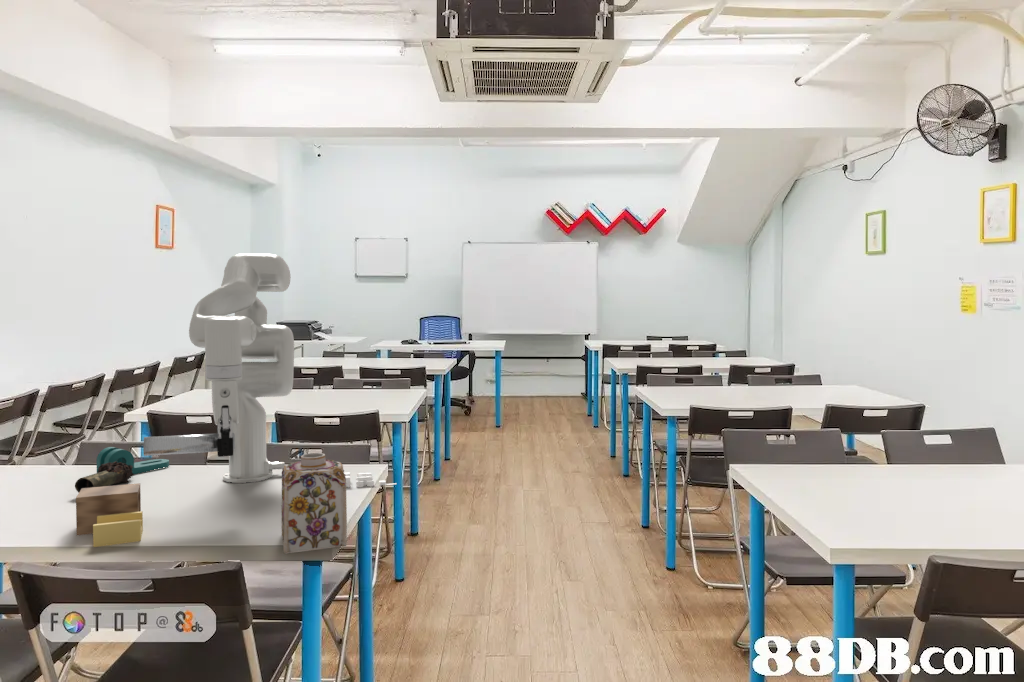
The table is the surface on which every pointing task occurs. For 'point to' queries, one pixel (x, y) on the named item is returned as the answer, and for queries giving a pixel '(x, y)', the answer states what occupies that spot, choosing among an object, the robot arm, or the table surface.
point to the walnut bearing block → (105, 504)
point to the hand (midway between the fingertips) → (224, 452)
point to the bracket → (129, 460)
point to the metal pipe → (106, 476)
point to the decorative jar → (313, 504)
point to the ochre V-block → (118, 529)
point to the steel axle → (181, 444)
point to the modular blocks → (363, 480)
